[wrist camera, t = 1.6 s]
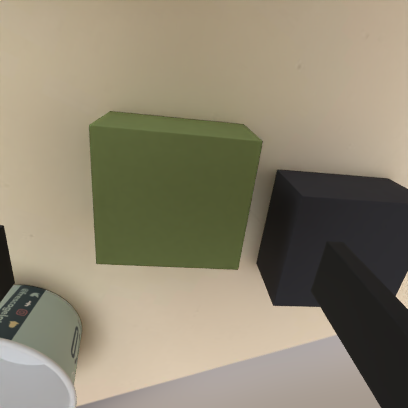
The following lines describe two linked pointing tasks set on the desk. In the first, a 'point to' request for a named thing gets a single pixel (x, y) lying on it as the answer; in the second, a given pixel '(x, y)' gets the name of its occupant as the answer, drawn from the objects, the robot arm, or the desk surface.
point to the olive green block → (171, 190)
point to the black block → (331, 230)
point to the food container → (38, 349)
